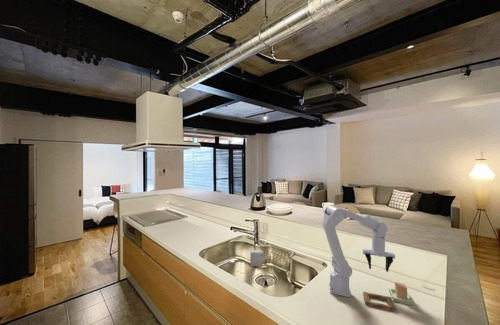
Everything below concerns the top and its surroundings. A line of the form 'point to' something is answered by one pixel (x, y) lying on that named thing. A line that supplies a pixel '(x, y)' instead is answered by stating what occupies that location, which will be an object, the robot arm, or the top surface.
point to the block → (400, 290)
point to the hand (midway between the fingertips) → (378, 269)
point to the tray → (408, 301)
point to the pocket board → (378, 305)
